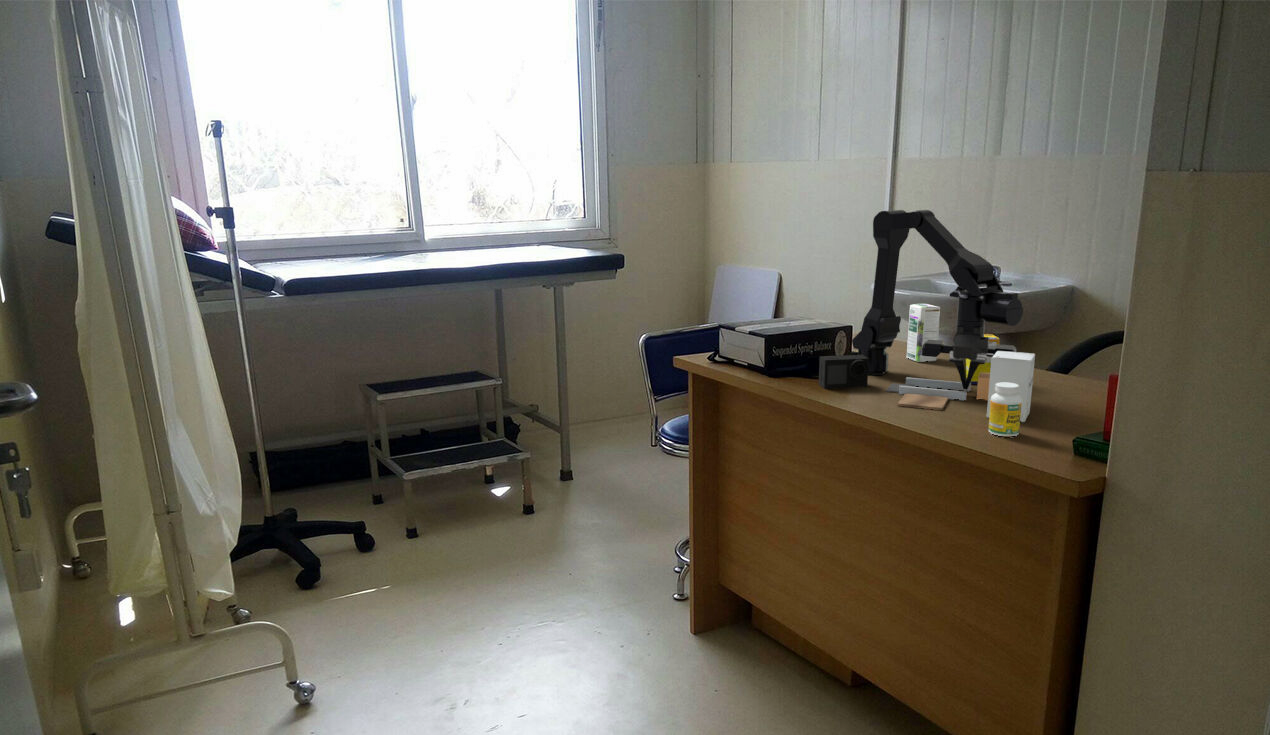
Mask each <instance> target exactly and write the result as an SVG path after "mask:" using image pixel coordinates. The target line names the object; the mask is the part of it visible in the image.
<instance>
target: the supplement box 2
mask: <svg viewBox="0 0 1270 735" xmlns="http://www.w3.org/2000/svg"><path fill="white" fill-rule="evenodd" d="M1035 359H1036V353H1033V352H1032V353H1030V352H1019V351H1016V352H1007V351H997V352H996V353H995V354H994V356H993V357H992V360H991V371H990V383H989V395H988V400H987V408H986V409H987V410H986V418H988V419H989V416H990V401H991V397H992V395H993V394H995V393H997V392H996V391H995V386H996V383H1000V382H1008V383H1015V384H1018V385H1019V392H1018V393H1017V395H1018V396H1020V397H1021V399H1022V405H1021V417H1020V421H1021V422H1020V423H1025V422H1026V420H1027V418H1028V416H1029V415H1030V412H1031V402H1032V400H1031V399H1032V395H1033V394H1032V393H1033V382H1034V371H1035V361H1036V360H1035Z"/></svg>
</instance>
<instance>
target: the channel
mask: <svg viewBox="0 0 1270 735" xmlns="http://www.w3.org/2000/svg"><path fill="white" fill-rule="evenodd" d="M905 385H914V387H911V386H899V393H898V395H903V394H905V393H908V394H919V395H929V396H939V397H948V400H954V399H959V400H958V401H964V400H966V401H967V393H968V392H971V389H972V387H971V386H972V384H971V383H970V384H969V387H968V389H967V390H966V389H963V386H962V382H961V381H953V380H941V379H932V378H931V379H929V378H921V377H920V378H918V377H910V376H909V377H908V376H907V377H905ZM916 386H919V387H916ZM927 387H930V388H927ZM937 388H942V389H937ZM948 389H954V390H948ZM959 390H964V391H959Z"/></svg>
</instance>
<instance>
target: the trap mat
mask: <svg viewBox="0 0 1270 735" xmlns="http://www.w3.org/2000/svg"><path fill="white" fill-rule="evenodd" d="M899 386H911V387H915V386H914V385H906V383H904V384H903V383H902V384H901V383H894V382H891V384H890V385H889V386H888V387H887V388H886V390H885V391H886V392H887V393H894V394H895V393H896V392H897V393H898V394H899ZM897 393H896V394H897Z"/></svg>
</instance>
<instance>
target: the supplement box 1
mask: <svg viewBox="0 0 1270 735" xmlns="http://www.w3.org/2000/svg"><path fill="white" fill-rule="evenodd" d="M984 337H989V347H988V348H996V346H997V344H998V345H1000V338H999V337H998V336H995V335H994V334H992V333H991V334H990V333H984ZM991 360H992V357H987V360H986V362H985V364H980V365H979V366H978V368H977V369H976V371H975V373H974V375H973V377H972V380H971V382H970V383H971V385H978V377H979V375H980V373H981V372H982V373H990V371H991ZM970 361H971V360H969V359H966V378H967V375H968V371H969V366H970Z"/></svg>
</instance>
